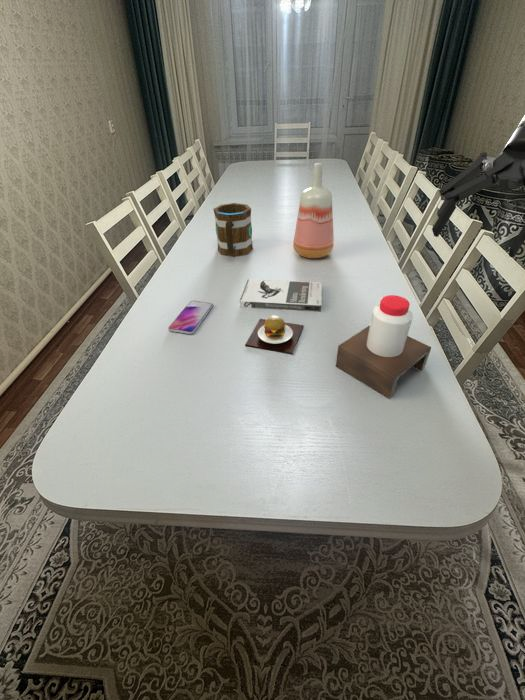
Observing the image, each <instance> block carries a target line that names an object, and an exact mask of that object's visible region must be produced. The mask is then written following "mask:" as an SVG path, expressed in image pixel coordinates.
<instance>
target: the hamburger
mask: <svg viewBox="0 0 525 700" xmlns="http://www.w3.org/2000/svg"><path fill="white" fill-rule="evenodd" d="M303 329H304V325H303V324H298V323H290V322H285V320H284V319H283V318H282V317H281V316H278V315H272V316H269V317H267V318H266V319H265V318H259V320H258V321H257V323H256V325H255V327H254V329H253V330H252V332H251V334H250V335H249V336H248V339H247V341H246V342H245V344H244V346H245V347H249V348H254V349H260V350H265V351H271V352H276V353H283V354H289V355H293V354H294V352H295V349H296V347H297V345H298V341H299V339H300V336H301V334H302V331H303Z"/></svg>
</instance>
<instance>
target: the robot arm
mask: <svg viewBox="0 0 525 700" xmlns="http://www.w3.org/2000/svg"><path fill="white" fill-rule="evenodd" d="M489 167H491V168H489ZM488 168H489V169H488ZM483 171H484V173H483V174H482V172H483ZM480 174H481V175H480ZM493 176H494V177H493ZM496 185H498V186H499V187H510V188H513V189H518V188H521V187H523V190H524V191H525V115H523V117H522V119H521V120H520V122H519V123H518V125H517V127H516V129H515V130H514V132H513V133H512V135H511V137H510V138H509V140H508V141H507V142H506V144H505V146H504V148H503V149H502V152H501V153H500V154H499V155H498V156H496V157H492V156H488V152H486V151H485V152H484V151H483V152H482V153H480V154H479V155H478V157H477V158H476V159H475V160H474V162H472V163H471V164H470V165H469V166H467V167H466V168H465V169H464V170H462V171H461V172H460V173H458V175H456V176H455V177H453V178H452V179H451V180H450V181H449V182H447V183H446V184H444V185H443V186H442V187H441V188H440V189H439V190H438V193H439V196H440V200H441V201H442V203H441V205H440V207H439V208H438V210H437V213H436V214H437V219H436V221H435V223H434V225H433V226H432V228H431V232H432V234H433V237H435V238H438V237H439V236H440V235H441V233H442V231H443V230H444V229H445V227H446V225H447V223H448V222H449V220H450V218H451V217H452V215H453V214H454V212H455V211H456V209H457V205H456V204H457V203H459V202H461V201H462V200H465V199H466V198H469V197H470V196H472V195H475V194H476V193H478V192H480V191H482V190H484V189H486V188H492V187H494V186H496ZM524 243H525V224H524V225H523V227H522V228H521V230H520V231H519V233H518V234H517V236H516V237H515V239H514V240H513V242H512V244H511V245H510V247H509V248H508V256H509V257H510V258H515V257H516V255H517V254H518V252H519V250H520V249H521V247H522V246H523V244H524Z"/></svg>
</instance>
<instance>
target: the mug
mask: <svg viewBox="0 0 525 700" xmlns="http://www.w3.org/2000/svg"><path fill="white" fill-rule="evenodd" d="M212 210H213V213H214V219H215V233H216V234H215V235H216V237H217V238H216V239H217V251H218V252H219V254H220V255H221V256H227V257H232V258H235V257H240V256H247V255H248V254H249V253H250V252H252V251H253V250H254V246H253V226H252V208H251V207H250V206H249V205H248V204H247V203H237V202H233V203H223V204H219V205H218V206H216V207H214V208H213V209H212Z"/></svg>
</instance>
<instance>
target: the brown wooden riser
mask: <svg viewBox="0 0 525 700" xmlns="http://www.w3.org/2000/svg"><path fill="white" fill-rule="evenodd" d="M369 328H370V324H369V325H368V326H366V327H365V328H363V329H362V330H360V331H359V332H357V333H355V334H354V335H353V336H351V337H350V338H348V339H346V340H344V341H343V342H342V343H340V344H339V345H338V347H337V354H336V362H335V367H337V368H338V369H339V370H341V371H343V372H344V373H346V374H348V375H349V376H351V377H352V378H354V379H356V380H358V381H359V382H361V383H363V385H366V386H367V387H369V388H370V389H372V390H374V391H375V392H377V393H379V394H381V395H382V396H384V397H385V398H387V399H391V398H392V397H393V396H395V395H394V394H395V391H396V387H397V384H398V381H399V378H400V377H401V376H403V375H404V374H406V372H408V370H409V369H411V368H413V369H416V370H417V371H420V372H422V371H423V370H424V369H425V368H426V365H427V363H428V359H429V355H430V353H431V350H432V346H430V345H428V344H426V343H424V342H422V341H419V340H417V339H415V338H414V337H411V336H409V335H408V336H407V339H406V343H405V346H404V350H403V352H402V353H401V354H400V355H398V356H395V357H382V356H379V355H376V354H374V353H373V352H371V351H370V350H369V349H368V347H367V344H366V343H367V338H368V333H369Z"/></svg>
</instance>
